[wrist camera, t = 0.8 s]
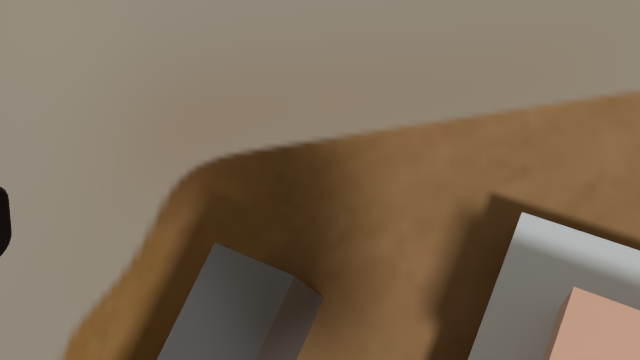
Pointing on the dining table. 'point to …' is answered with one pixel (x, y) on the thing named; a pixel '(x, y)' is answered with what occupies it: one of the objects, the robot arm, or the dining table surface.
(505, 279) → the display stand
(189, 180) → the dining table surface
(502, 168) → the dining table surface
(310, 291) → the frame bar
